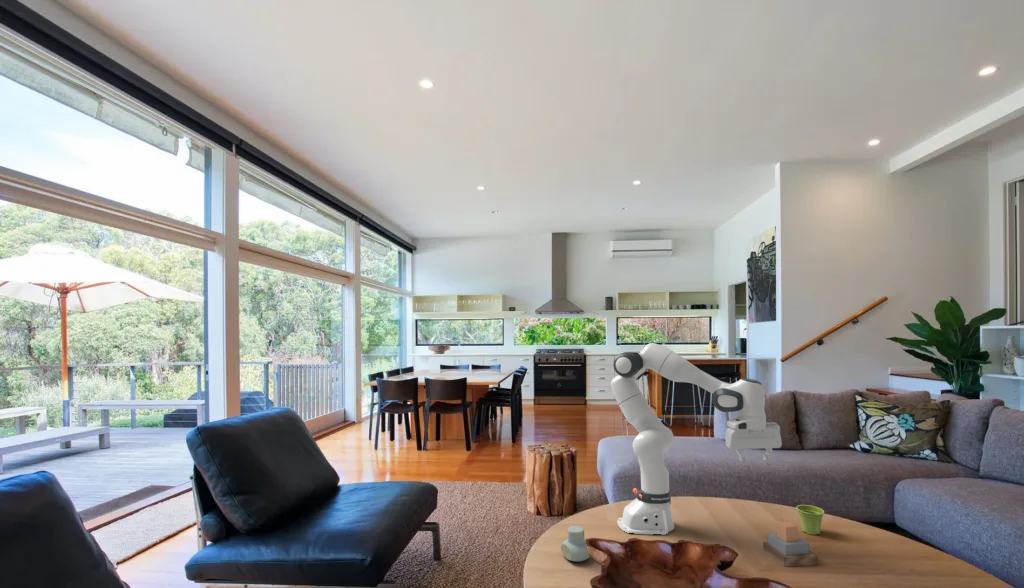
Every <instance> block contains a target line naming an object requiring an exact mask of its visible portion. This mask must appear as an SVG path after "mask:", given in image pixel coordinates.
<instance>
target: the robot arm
mask: <svg viewBox="0 0 1024 588" xmlns="http://www.w3.org/2000/svg"><path fill="white" fill-rule="evenodd" d="M612 365H613V369H614V371H615V373H616V374H617V375H616V376H614V377H613V378H612V379H611V381H610V388H611V392H612V394H613V398H615V400H616V402H617V404H618V407H619V408H620V410H621V412H622V414H623V417H625V420H626V421H627V423H629V424H630V425H632V426H633V428H635V430H636V431H637V432H638V434H637V435H636V436H635V438H634V439H633V441H632V450H633V453H634V454H635V455H636V456H637V461H638V463H639V464H638V465H639V468H640V489H639V490H638V489H637V488H636V487H634V488H632V492H633V493H634V495H636V498H634V500H632V501H631V502H629V503H628V504H627V505H625V506H624V507H623V512H622V517H618V518H617V523H616V525H618V527H619V529H621V531H623V532H624V531H625V533H626V532H627V534H629V533H634V534H633V535H653V534H661V536H667V535H668V534H669V532H671V531H673V530H674V529H675V523H674V521H673V517H672V511H671V505H672V503H671V502H672V501H671V500H672V497H671V490H670V478H669V477H670V473H669V470H668V468H667V467H666V466H667V465H666V462H665V458H664V456H665V455H664V454H665V452H667V451H670V449H671V447H672V445H673V444H674V438H675V437H674V433H673V431H672V430H671V429H670V428H669V427H667V426H665V424H663V422H662V421H661V420H660V419H659V417H658V416H657V415H656V414H655V413H654V411H653V410H652V409H651V407H650V405H649V403H648V402H647V400H646V399H645V397H644V395H643V393H642V391H641V390H640V387H639V386H638V382H637V381H638V380H640V379H641V378H642V377H643V375H645V373H647V371H648V370H652V371H653V372H655V373H657V374H658V375H660V376H661V377H663V378H665V379H667V380H669V381H672V382H675V383H688V384H689V383H690V384H693V385H696V386H698V387H699V388H701V389H704V390H705V391H707V392H709V393H710V394H712V395H711V402H712V404H713V406H714V408H715V409H716V410H718V411H719V412H722V413H732V412H738V413H739V416H737V417H734V418H732V419H729V420H727V421H726V425H727V427H728V428H726V429H725V430H726V431H725V438H724V439H725V440H724V441H725V446H726V447H727V448H728V449H730V450H735V452H736V454H737V455H738V461H740V462H745V461H746V456H745V455H743V454H742V452H743V450H753V449H754V450H757V449H765V454H762V459H763V461H770V459H771V458H770V456H771V454H772V452H773V449H780V448H782V445H783V442H782V437H781V427H780V425H779V423H777V422H775V421H771V422H767V415H766V410H765V406H766V397H765V396H766V394H765V390H764V389H765V388H764V386H763V383H762V382H761V381H759V380H756V379H752V378H745V377H744V378H740V379H739V380H737V381H735V382H726V381H723V380H721V379H718V378H717V377H715V376H713V375H711V374H709V373H707V372H705V370H702V369H700V368H698V366H696V365H694V364H693V363H691V362H690V361H689V360H687V359H685V357H683V356H681V355H680V354H678V353H677V352H675V351H673V350H671V349H670V348H668V347H665V346H663V345H661V344H658V343H656V342H655V343H654V342H650V343H648V344H646V345H645V346H644V347H643V348H642V350H641V351H637V350H629V351H624V352H620V353H619V354H617V355H616V357H615V358H614V360H613V364H612ZM666 534H667V535H666Z"/></svg>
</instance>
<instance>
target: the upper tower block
mask: <svg viewBox="0 0 1024 588" xmlns="http://www.w3.org/2000/svg"><path fill="white" fill-rule="evenodd" d="M767 542H768V544H769V545H771V546H772V547H774V548H775V549H777V550H778V551H780V552H781V553H783V554H784V555H786V556H787V555H798V554H808V553H810V552H809V551H810V542H808V541H807V540H805V539H803V538H801V537H800V536H798V541H790V542H786V541H784V540H783V539H781V538H779V537H778V536H777V532H775V533H768V534H767Z"/></svg>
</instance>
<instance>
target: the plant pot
mask: <svg viewBox="0 0 1024 588" xmlns="http://www.w3.org/2000/svg"><path fill="white" fill-rule="evenodd" d="M796 510H797V513H798V516H799V520H800V528H801V530H802V532H805V534H809V535H813V536H816V535H821V527H822V520H823V516H824V514H825V511H824V510H823V508H821V507H817V506H814V505H809V504H798V505H797V506H796Z"/></svg>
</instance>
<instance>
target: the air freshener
mask: <svg viewBox="0 0 1024 588" xmlns="http://www.w3.org/2000/svg"><path fill="white" fill-rule="evenodd" d="M586 541H587V540H585V529H584V528H583V527H582V526H579V525H571V526H569V527H568V528H567V539H565V540H564V541H562V543H561V544H560V545H561V546H560V551H561V553H562V555H563V557H565V559H566V560H569V561H570V562H576V563H580V562H584V561H586V560H587V559H589V558H590V557H591V555H590V556H589V554H588V552H587V544H586Z"/></svg>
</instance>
